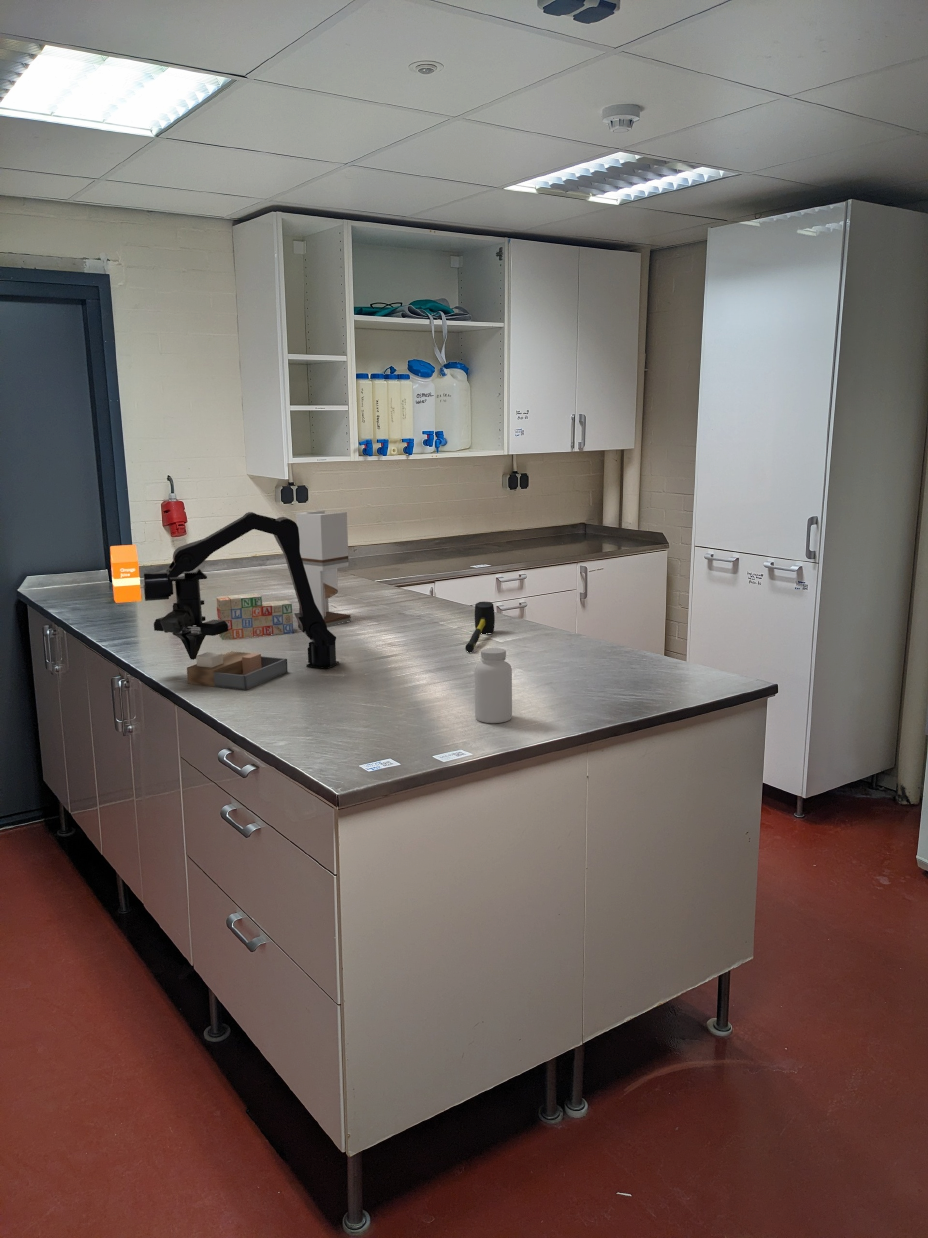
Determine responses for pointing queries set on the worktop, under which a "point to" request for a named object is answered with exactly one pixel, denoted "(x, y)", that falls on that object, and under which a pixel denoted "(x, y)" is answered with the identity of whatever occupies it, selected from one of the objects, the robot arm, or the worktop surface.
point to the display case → (324, 557)
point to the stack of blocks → (253, 616)
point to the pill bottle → (493, 687)
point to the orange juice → (125, 573)
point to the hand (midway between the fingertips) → (193, 659)
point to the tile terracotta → (251, 663)
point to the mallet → (482, 622)
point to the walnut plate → (216, 669)
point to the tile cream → (209, 659)
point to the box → (252, 675)
